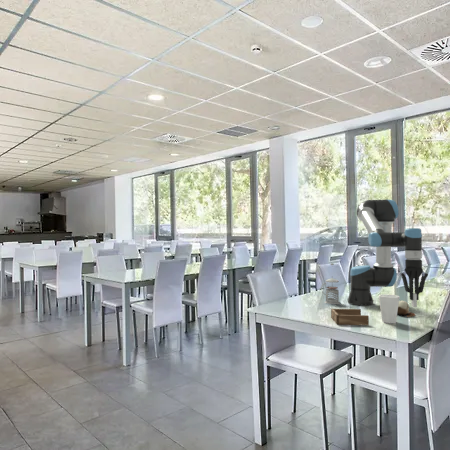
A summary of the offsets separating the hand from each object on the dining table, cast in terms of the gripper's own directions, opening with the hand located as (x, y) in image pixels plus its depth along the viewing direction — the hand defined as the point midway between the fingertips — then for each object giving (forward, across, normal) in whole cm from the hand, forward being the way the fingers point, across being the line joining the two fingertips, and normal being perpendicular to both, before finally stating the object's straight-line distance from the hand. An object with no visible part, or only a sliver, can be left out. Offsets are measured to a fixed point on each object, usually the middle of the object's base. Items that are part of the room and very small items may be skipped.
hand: (414, 306), depth 194 cm
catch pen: (+8, -31, 0) cm, 32 cm away
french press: (+7, -32, +50) cm, 60 cm away
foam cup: (+8, -12, 0) cm, 14 cm away
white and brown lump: (+8, +1, +19) cm, 20 cm away
